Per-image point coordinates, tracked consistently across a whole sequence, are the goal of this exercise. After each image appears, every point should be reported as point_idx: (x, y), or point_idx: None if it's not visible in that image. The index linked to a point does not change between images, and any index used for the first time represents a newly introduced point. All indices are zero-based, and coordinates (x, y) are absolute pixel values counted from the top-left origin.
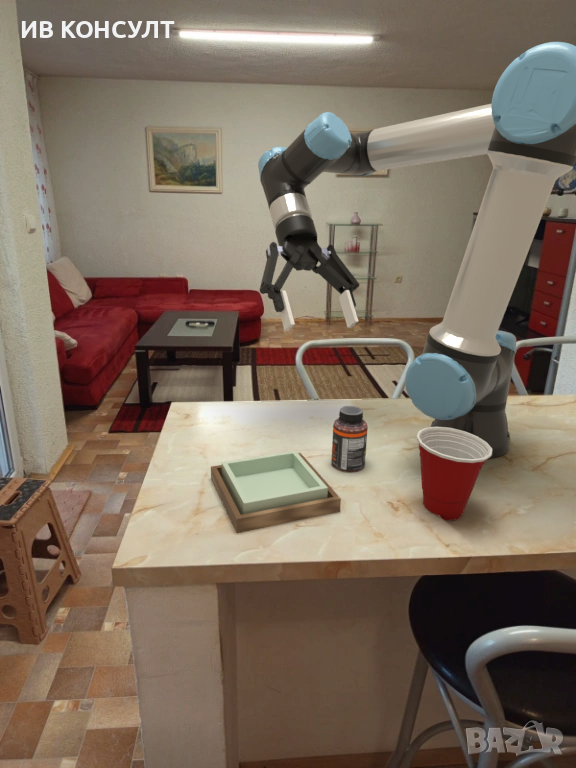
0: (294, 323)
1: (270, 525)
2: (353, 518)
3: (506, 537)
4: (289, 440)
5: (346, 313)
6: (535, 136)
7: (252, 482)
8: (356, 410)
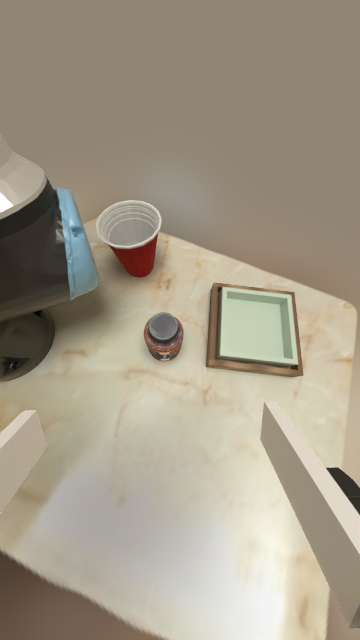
0: (265, 403)
1: None
2: (203, 284)
3: None
4: (187, 434)
5: (9, 480)
6: None
7: (265, 345)
8: (158, 321)
